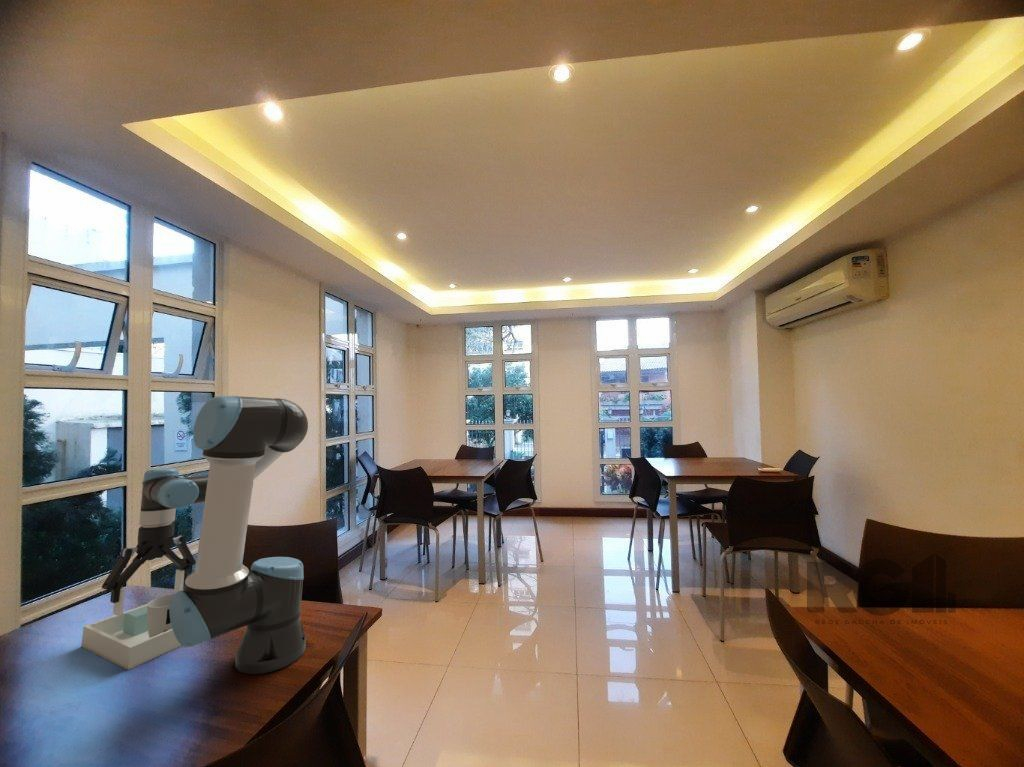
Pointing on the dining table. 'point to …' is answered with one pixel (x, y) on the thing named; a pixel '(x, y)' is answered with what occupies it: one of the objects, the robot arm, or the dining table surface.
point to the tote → (125, 642)
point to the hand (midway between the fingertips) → (149, 603)
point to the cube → (136, 621)
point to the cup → (158, 615)
